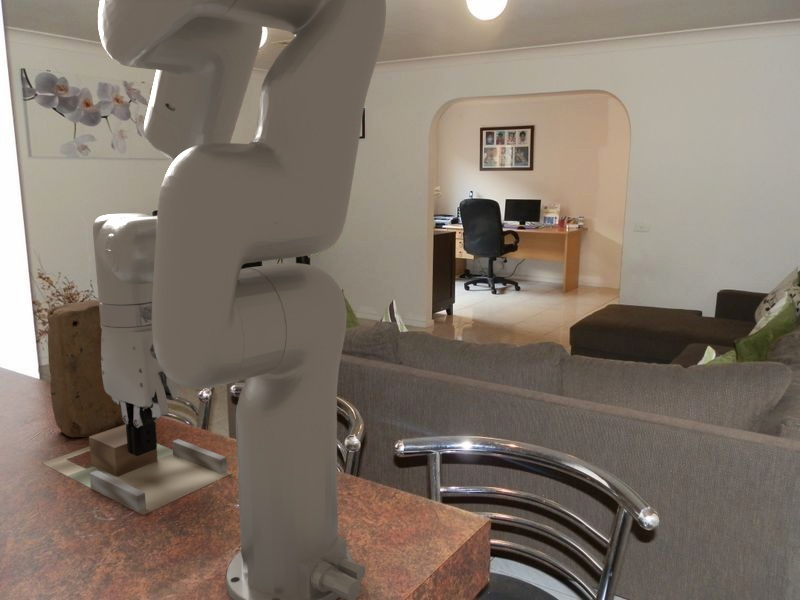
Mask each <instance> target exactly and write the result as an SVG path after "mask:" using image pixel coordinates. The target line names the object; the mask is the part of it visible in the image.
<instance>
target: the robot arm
mask: <svg viewBox="0 0 800 600" xmlns="http://www.w3.org/2000/svg"><path fill="white" fill-rule="evenodd" d="M97 12H98V13H97V18H98V19H97V26H98V27H97V28H98V33H99V38H100V41H101V44H102V47H103V48H104V50H105V51H106V53H107V54H108V55H109V56H110V58H111V59H112V60H113V61H115V62H116V63H118V64H120V65H121V66H123V67H124V66H125V67H129V68H136V69H145V70H154V71H156V72H155V75H154V80H153V85H152V88H151V93H150V98H149V101H148V105H147V106H148V107H147V111H146V115H145V118H144V123H143V130H144V135H145V137H146V139H147V141H148V142H149V144H151V146H152V147H153V148H154V149H155V150H157V151H158V152H159V153H160V154H161V155H163V156H165V157H166V158H168V159H169V160H171V161H172V162H171V164H170V165H169V167H168V169H167V172H166V174H165V175H164V178H163V181H162V184H161V186H160V190H159V197H158V204H157V205H158V206H157V213H156V215H150V214H145V213H133V212H132V213H130V212H129V213H111V214H110V213H109V214H105V215H101V216H98V217H97V218H95V220H94V222H93V225H92V235H93V240H92V241H93V248H94V249H93V251H94V260H95V272H96V273H95V274H96V284H97V285H96V286H97V296H98V301H99V311H100V324H101V329H102V335H101V366H102V378H103V385H104V389H105V392H106V393H107V394H108V395H110V396H111V397H112V400H113V401H115V402H116V403H117V404H119V406H120V407H121V410H122V416H123V421H124V422H125V424H127V425H126V433H127V446H128V452H129V453H130V454H133V455H135V456H139V455H142V454H145V453H147V452H150V451H152V450H155V449H156V448H157V444H158V441H157V427H156V426H157V425H156V422H158V419H159V418H161V417H164V416H166V415H169V414H170V409H169V405H168V400H169V401H170V400H171V401H174V400H176V399H178V396H179V387H181V388H184V389H190V390H204V389H211V388H217V387H221V386H225V385H229V384H233V383H237V382H241V381H244V380H245V381H244V384H243V386H242V389H241V391H240V393H239V396H238V401H237V405H236V411H235V413H236V414H235V443H236V444H235V445H236V462H237V463H236V466H237V469H236V471H237V485H238V486H237V489H238V490H237V491H238V492H237V493H238V508H239V509H238V511H239V515H238V516H239V530H240V531H239V534H240V536H239V537H240V551H239V552H238V553H237V554H236V555H234V557H232V560H231V561H230V562H229V564H228V566H227V568H226V571H225V572H226V573H225V583H226V584H225V585H226V590H227V593H228V595H229V596H230V598H231V599H232V600H338V599H339V598H341V599H344V600H356V599H357V598H358V597H359V595H360V593H361V589H362V585H361V581H362V580H363V578H364V577H365V574H366V570H367V568H366V566H364V565H363V564H361V563H358V562H356V561H354V558H353V556H352V554H351V552H350V551H349V550H348V548H347V538H344V537H343V536H340V535H339V523H338V522H339V521H338V520H339V519H338V518H339V517H338V515H339V513H338V512H339V511H338V509H339V505H338V500H339V499H338V498H339V497H338V440H337V439H338V438H337V437H338V435H337V434H338V433H337V430H338V412H337V411H338V405H337V404H338V382H339V372H340V371H339V369H340V363H341V357H342V351H343V349H344V348H343V347H344V343H345V337H346V330H347V317H348V315H347V313H348V312H347V305H346V300H345V296H344V294H343V293H344V292H343V291H342V288H341V287H340V285H339V284H338V282H337V281H336V279H335V278H334V277H333V276H331V274H329V273H328V272H327V271H325V270H324V269H322V268H320V267H317V266H315V265H311V264H306V263H301V262H299V263H298V262H287V263H277V264H276V263H275V264H267V265H261V266H251V267H245V268H242V267H243V265H245V264H251V263H258V262H266V261H275V260H276V261H277V260H282V259H283V260H285V259H292V258H300V257H305V256H311V255H314V254H319V253H322V252H324V251H327V250H330V248H332V247H333V246H334V245H336V243H337V242H338V240H339V239H340V237H341V235H342V233H343V230H344V227H345V223H346V220H347V215H348V209H349V203H350V198H351V191H352V186H353V180H354V173H355V169H356V161H357V154H358V148H359V142H360V138H361V137H360V136H361V129H362V120H363V114H364V109H365V103H366V98H367V95H368V91H369V88H370V84H371V80H372V77H373V74H374V70H375V68H376V65H377V60H378V59H379V54H380V50H381V47H382V43H383V38H384V33H385V27H386V19H387V2H386V0H99V5H98V11H97ZM263 28H268V29H276V30H281V31H282V30H283V31H286V32H288V33H291V34H292V35H293V36H294V38H292V39H291V41H289V42H288V43H287V45H286V46H285V47H284V48H283V49H282V50H281V52H280V53H279V54H278V55H277V57H276V59H275V60H274V61H273V63H272V65H271V67H270V68H269V70H268V72H267V74H266V75H265V77H264V80H263V82H262V85H261V89H260V93H259V102H258V114H257V115H258V116H257V121H256V127H255V133H254V136H253V138H252V139H251V141H250V142H249V143H232V142H231V141H232V138H233V135H234V132H235V129H236V126H237V122H238V118H239V116H240V113H241V109H242V106H243V102H244V99H245V95H246V92H247V89H248V86H249V83H250V79H251V76H252V73H253V71H254V70H253V69H254V66H255V65H256V64H255V63H256V60H257V56H258V53H259V50H260V45H261V42H262V38H263Z"/></svg>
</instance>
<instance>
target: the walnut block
mask: <svg viewBox="0 0 800 600" xmlns="http://www.w3.org/2000/svg"><path fill="white" fill-rule="evenodd" d="M127 424H128V423H125V424H123V425H121V426H119V427H116V428H113V429H110V430H107V431H104V432H101V433H98V434H95V435H92V436H89V437H88V442H89V446H90V451H89V453H90V454H89V455H90V463H91V466H92V467H93V466H95V467H97V468H99V469H101V470H103V471H105V472H108V473H110V474H112V475H114V476H116V477H118V476H121V475H123V474H126V473H128V472H131V471H133V470H136V469H138V468H141V467H143V466H146V465H148V464H151V463H153V462H156V461H158V459H157V448H156V449H155V450H152V451H150V452H147V453H145V454H142V455H139V456H135V455H133V454H130V453H129V452H128V446H127V433H126V425H127Z"/></svg>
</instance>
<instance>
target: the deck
mask: <svg viewBox="0 0 800 600" xmlns="http://www.w3.org/2000/svg"><path fill="white" fill-rule="evenodd" d="M171 443H172V444H171V445H172V448H169V447H166V446H164V445H161V444H159V443H157V459H158V461H156V462H153V463H151V464H148V465H146V466H143V467H141V468H138V469H136V470H133V471H131V472H128V473H126V474H123V475H121V476H118V477H116V476H114V475H112V474H110V473H108V472H105V471H103V470H101V469H99V468H97V467H95V466H93V465H92V466H90V467H88V468H85V467H82V466H81V465H78V464H77V463H74V462H72V461H70V459H73V458H74V457H77V456H80V455H83V454H86V453H88V452H89V453H90V445H89V446H85V447H83V448H81V449H80V448H79V449H78V450H74V451H71V452H68V453H67V454H64V455H61V456H58V457H55V458H52V459H49V460H46V461H44V462H42V463H41V464H42V465H45V466H47V467H48V468H50V469H52V470H54V471H56V472H58V473H60V474H61V475H64V476H66V477H67V478H70V479H72V480H74V481H75V482H77V483H80V484H82V485H84V486H86V487H88V488H89V489H92V490H94V491H96V492H98V493H99V494H101V495H102V496H105V497H107V498H108V499H112V500H114V501H115V502H117V503H119V504H121V505H123V506H125V507H127V508H129V509H131V510H133V511H135V512H137V513H138V514H140V515H142V516H145V515H147V514H148V513H151V512H153V511H156V510H157V509H159V508H163V507H164V506H166V505H169V504H171V503H173V502H175V501H176V500H179V499H181V498H184V497H185V496H188V495H190V494H192V493H195V492H196V491H198V490H200V489H203V488H205V487H207V486H209V485H212V484H213V483H215V482H217V481H220V480H221V479H224V478H226V477H228V476H230V475H232V472H229V471H228V468H227V467H228V466H227V457H226V456H224V455H222V454H219V453H216V452H213V451H211V450H208V449H205V448H203V447H201V446H198V445H195V444H192V443H190V442H187V441H185V440H182V439H180V438H177V439H175V440H172V442H171Z"/></svg>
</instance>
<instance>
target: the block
mask: <svg viewBox="0 0 800 600" xmlns="http://www.w3.org/2000/svg"><path fill="white" fill-rule="evenodd" d="M46 318H47V323H48V326H49V327H48V330H47V351H48V352H47V353H48V355H47V356H48V357H47V358H48V367H49V374H50V398H51V404H52V411H53V416H54V419H55V423H56V426H57V427H58V429H59V430H60V431H61V432H62V433H63V434H64V435H66V436H67V437H70V438H87V437H88V438H89V437H90V436H93V435H96V434H99V433H102V432H105V431H108V430H111V429H113V428H116V427H119V426H122V425H125V424H126V423H125V422H124V421H123V416H122V410H121V407H120V406H119V404H117V403H116V402H115V401H113V400H112V397H111V396H110V395H108V394H107V393H106V392H105V389H104V385H103V378H102V366H101V335H102V329H101V324H100V311H99V300H97V299H88V300H84V301H81V302H78V301H77V302H70V303H65V304H62V305H61V304H60V305H57V306H54V307H51V308H50V309H49V310H48V312H47V314H46Z"/></svg>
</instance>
